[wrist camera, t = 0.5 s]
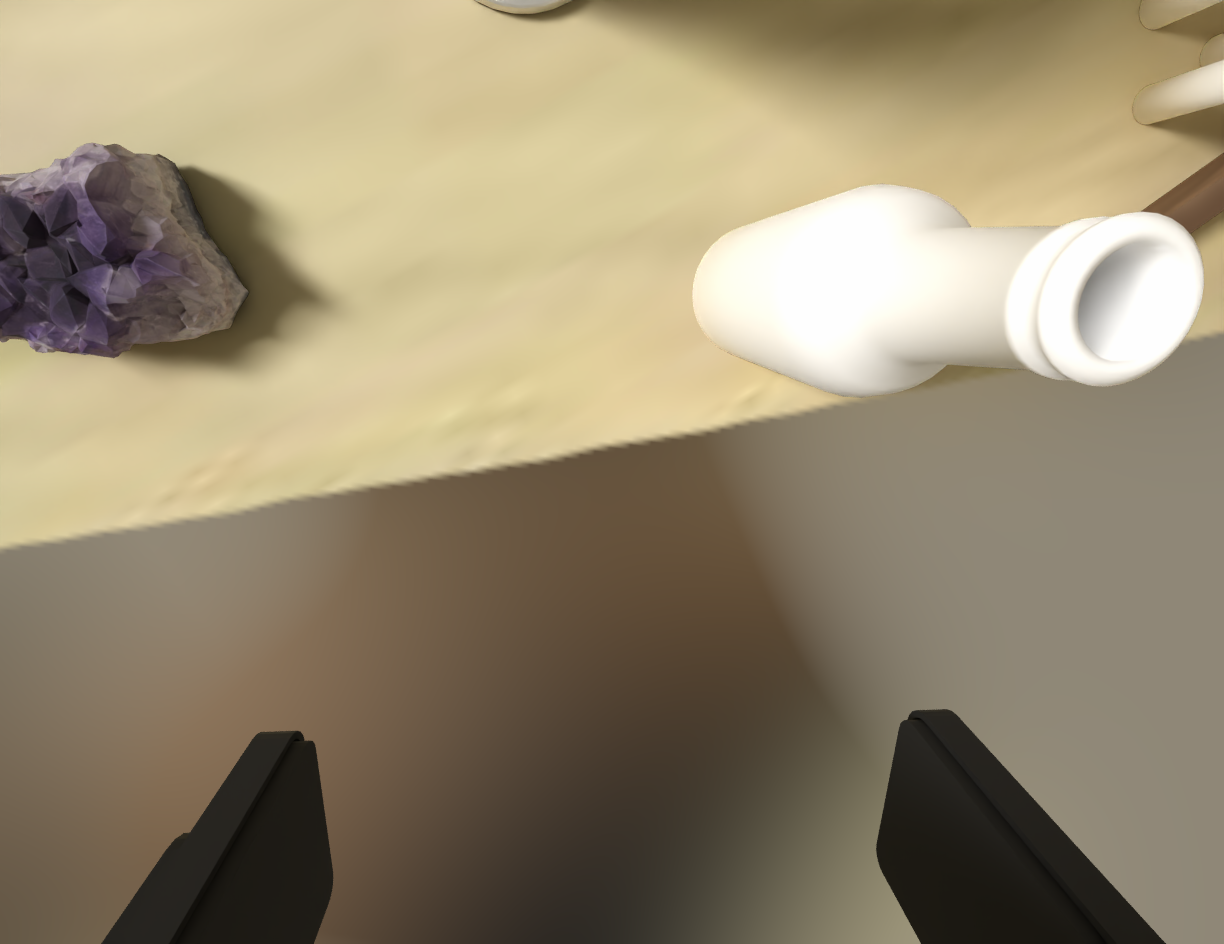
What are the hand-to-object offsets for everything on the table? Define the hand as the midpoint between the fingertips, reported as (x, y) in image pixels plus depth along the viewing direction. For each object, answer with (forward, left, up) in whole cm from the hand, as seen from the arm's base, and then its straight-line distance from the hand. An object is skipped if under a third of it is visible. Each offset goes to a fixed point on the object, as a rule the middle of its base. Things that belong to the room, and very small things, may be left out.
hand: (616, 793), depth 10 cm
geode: (-25, -20, -36) cm, 49 cm away
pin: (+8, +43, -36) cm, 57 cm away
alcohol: (+2, +14, -36) cm, 39 cm away
